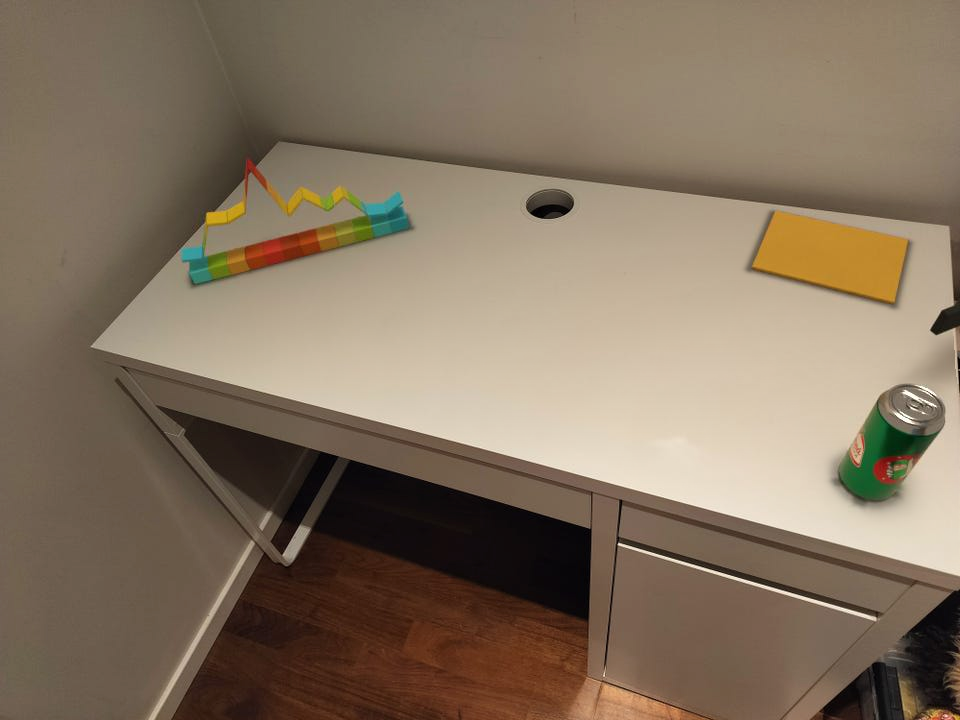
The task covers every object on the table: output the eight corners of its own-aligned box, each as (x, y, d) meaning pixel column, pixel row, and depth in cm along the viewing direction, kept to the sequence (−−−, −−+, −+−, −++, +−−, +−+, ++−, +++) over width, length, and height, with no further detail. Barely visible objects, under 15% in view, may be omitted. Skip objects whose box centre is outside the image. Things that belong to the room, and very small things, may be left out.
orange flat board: (907, 241, 84) (908, 239, 84) (893, 304, 78) (894, 302, 77) (774, 212, 90) (775, 210, 90) (751, 268, 84) (752, 266, 83)
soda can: (846, 448, 66) (891, 370, 57) (902, 471, 64) (957, 395, 55) (829, 486, 64) (873, 412, 55) (887, 512, 62) (942, 439, 52)
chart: (404, 215, 98) (383, 121, 86) (409, 228, 96) (388, 133, 84) (195, 269, 94) (144, 178, 83) (195, 284, 92) (143, 193, 81)
